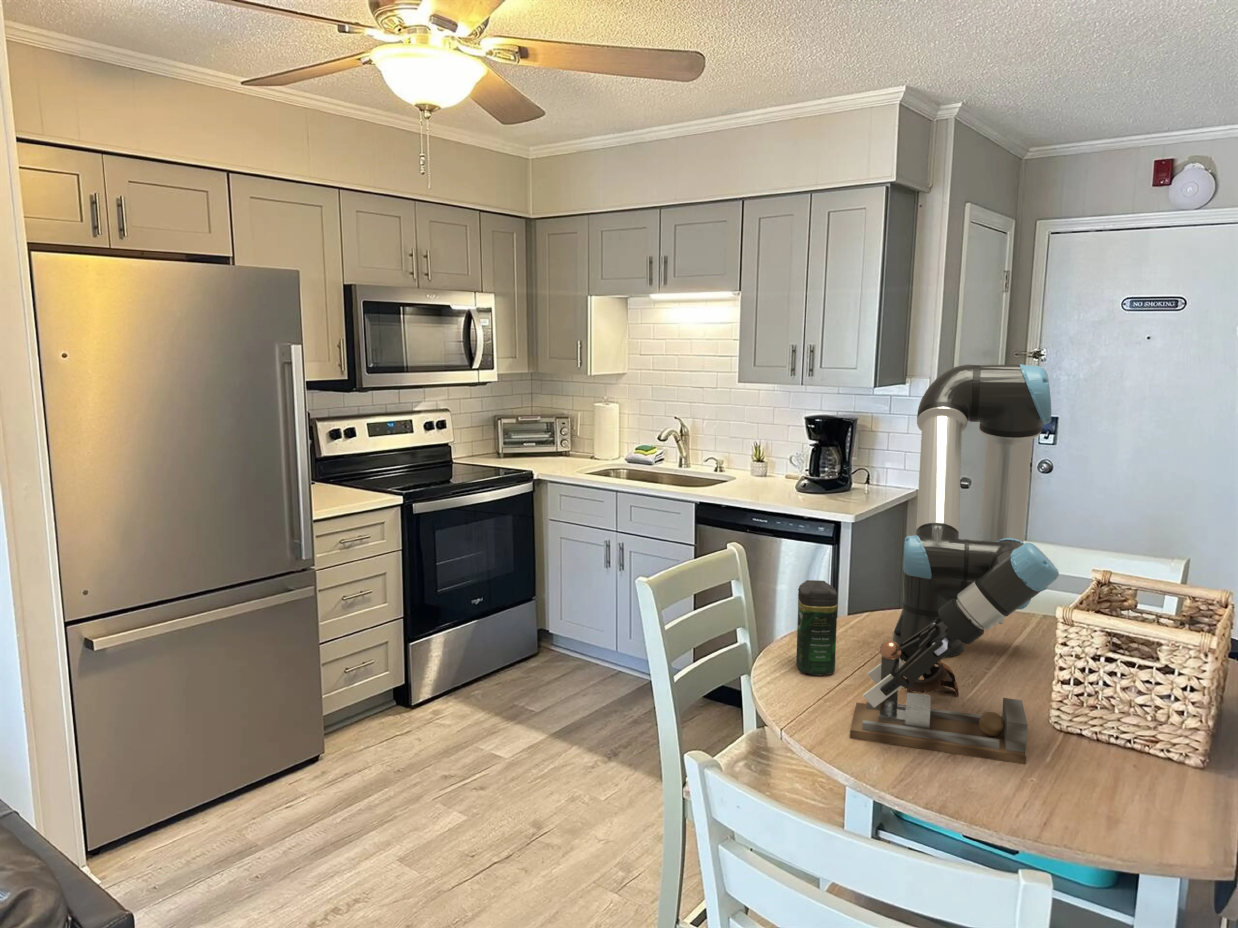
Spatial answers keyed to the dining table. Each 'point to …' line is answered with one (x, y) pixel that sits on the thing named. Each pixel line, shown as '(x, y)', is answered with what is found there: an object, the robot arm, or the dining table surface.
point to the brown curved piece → (935, 680)
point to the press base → (952, 731)
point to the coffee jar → (816, 627)
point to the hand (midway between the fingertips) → (870, 689)
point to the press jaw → (915, 703)
